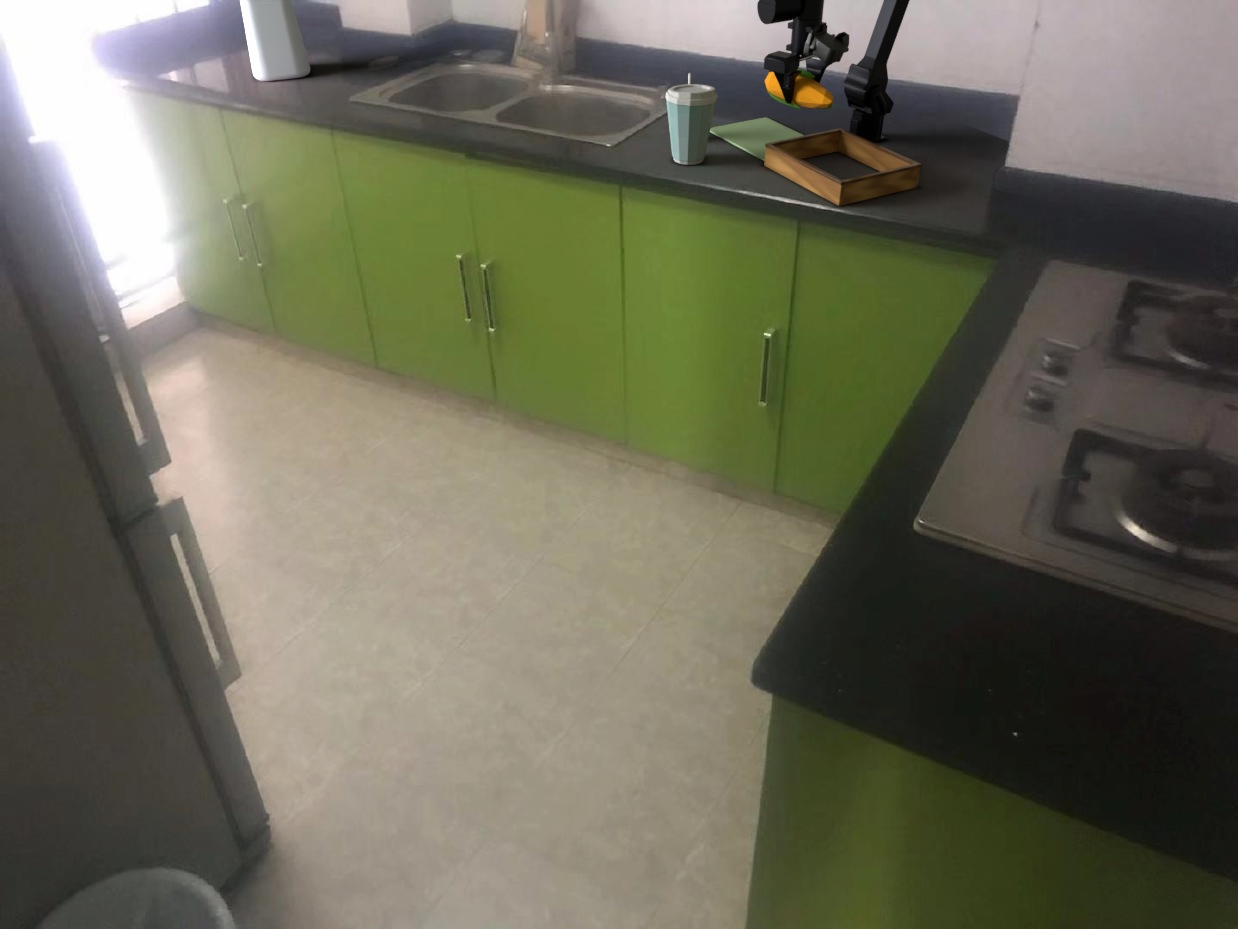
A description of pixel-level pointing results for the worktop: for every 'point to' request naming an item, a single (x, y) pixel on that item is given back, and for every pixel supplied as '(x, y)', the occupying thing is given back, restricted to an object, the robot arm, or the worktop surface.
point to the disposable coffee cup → (690, 121)
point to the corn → (801, 91)
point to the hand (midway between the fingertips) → (800, 99)
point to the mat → (754, 134)
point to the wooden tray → (892, 166)
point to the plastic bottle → (274, 40)
